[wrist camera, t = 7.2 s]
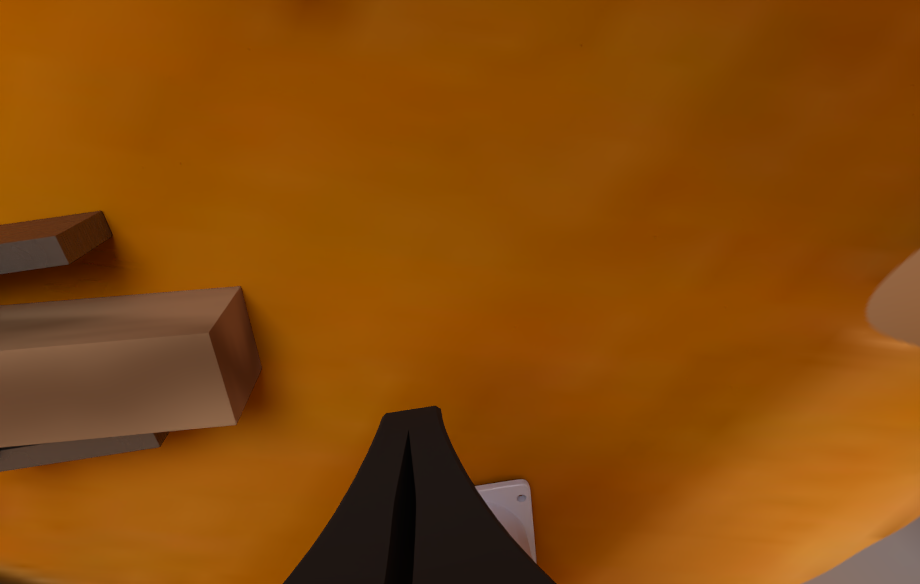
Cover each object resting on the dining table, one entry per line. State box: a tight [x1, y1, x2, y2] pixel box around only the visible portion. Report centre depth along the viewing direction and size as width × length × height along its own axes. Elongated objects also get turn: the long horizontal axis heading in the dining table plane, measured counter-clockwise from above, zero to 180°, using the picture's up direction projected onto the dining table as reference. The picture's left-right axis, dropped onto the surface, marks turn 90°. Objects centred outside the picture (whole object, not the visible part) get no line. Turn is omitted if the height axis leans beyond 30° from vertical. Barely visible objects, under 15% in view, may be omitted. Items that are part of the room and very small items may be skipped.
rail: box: [0, 286, 262, 448], centre depth 20 cm, size 4×10×4 cm, turn 93°
